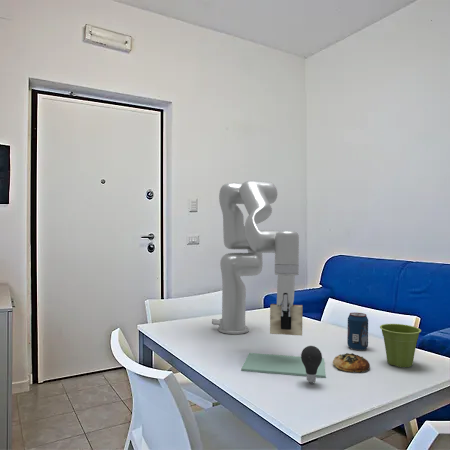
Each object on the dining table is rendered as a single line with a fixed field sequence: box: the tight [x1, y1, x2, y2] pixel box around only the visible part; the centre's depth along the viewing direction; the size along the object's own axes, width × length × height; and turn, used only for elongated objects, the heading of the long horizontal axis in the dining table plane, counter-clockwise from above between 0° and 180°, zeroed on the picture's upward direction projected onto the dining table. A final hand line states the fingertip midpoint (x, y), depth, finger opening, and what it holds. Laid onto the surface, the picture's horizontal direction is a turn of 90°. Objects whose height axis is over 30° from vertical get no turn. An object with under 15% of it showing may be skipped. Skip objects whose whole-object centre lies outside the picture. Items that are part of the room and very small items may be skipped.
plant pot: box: [379, 323, 422, 368], centre depth 128 cm, size 12×12×11 cm
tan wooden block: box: [269, 303, 303, 337], centre depth 130 cm, size 10×2×9 cm, turn 78°
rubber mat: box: [240, 352, 327, 379], centre depth 125 cm, size 24×16×1 cm, turn 78°
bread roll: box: [332, 352, 371, 373], centre depth 125 cm, size 11×11×5 cm
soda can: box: [347, 312, 369, 351], centre depth 145 cm, size 7×7×12 cm
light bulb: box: [300, 345, 323, 385], centre depth 111 cm, size 6×6×10 cm
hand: (286, 327), depth 130 cm, fingers closed on tan wooden block, 2 cm apart
